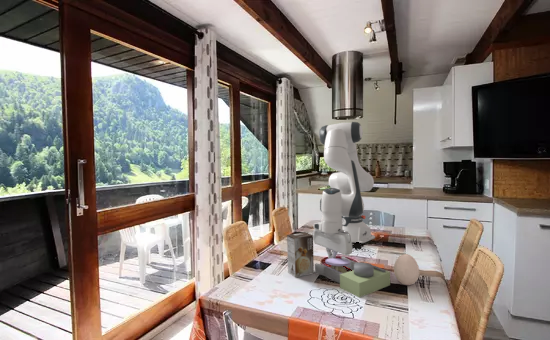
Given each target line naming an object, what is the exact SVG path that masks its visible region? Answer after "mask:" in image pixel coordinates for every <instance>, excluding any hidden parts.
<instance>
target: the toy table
mask: <svg viewBox="0 0 550 340" xmlns="http://www.w3.org/2000/svg"><path fill="white" fill-rule="evenodd" d="M349 260H350V259H349ZM349 260H345V259H342V258H338V257H337V258H331V259H329V258H326V259H325V265H326V264H327V265H328V266H329V265H330V266H329V267H330V268H332V269H335V270H337V271H339V272H341V273H346V272H348V271H347V269H346V268H345V267H343V266H348V265H350V261H349Z"/></svg>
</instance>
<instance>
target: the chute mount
mask: <svg viewBox="0 0 550 340" xmlns="http://www.w3.org/2000/svg"><path fill="white" fill-rule="evenodd" d="M341 259H345V260H349V261H350V265H348V266H346V267H348V268H350V269H351V270H354V264H355V263H358V262H357V261H354V260H352V259H349V258H347V257H346V256H344V255H341ZM330 267H331V266H329V265H326V264H321V263H316V262H315V263H314V274H316V275H320V276H324V277H326V278H328V279H330V280H331V281H334V282H335V283H338V284H340V274H343V273H342V272H341V271H340V270H339V271H337V270H335V269H332V268H330ZM351 270H350V271H351Z"/></svg>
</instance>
